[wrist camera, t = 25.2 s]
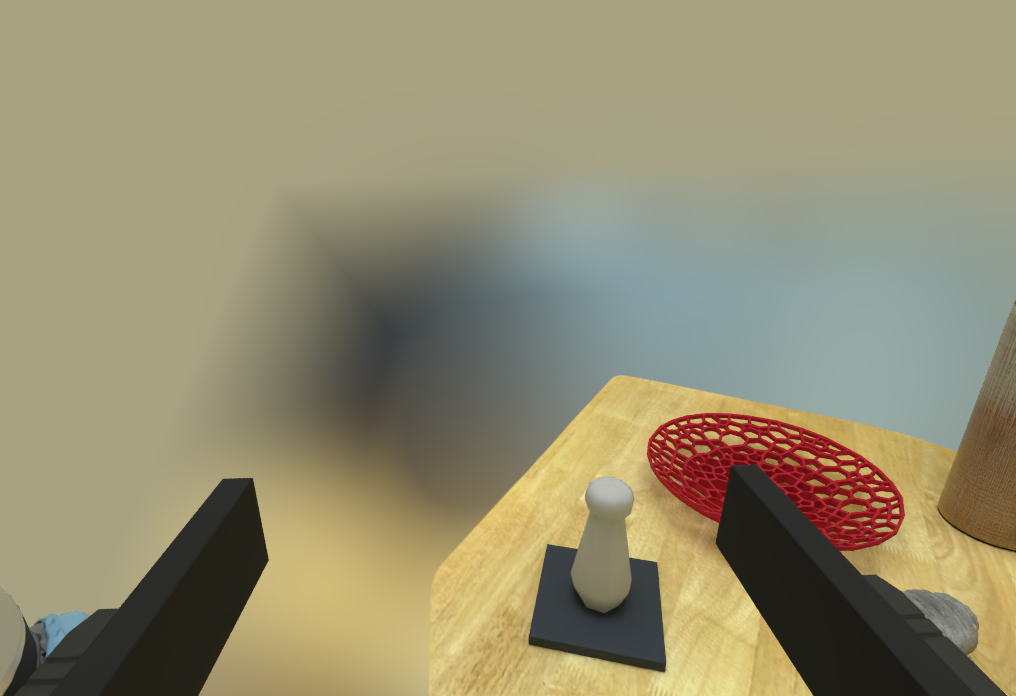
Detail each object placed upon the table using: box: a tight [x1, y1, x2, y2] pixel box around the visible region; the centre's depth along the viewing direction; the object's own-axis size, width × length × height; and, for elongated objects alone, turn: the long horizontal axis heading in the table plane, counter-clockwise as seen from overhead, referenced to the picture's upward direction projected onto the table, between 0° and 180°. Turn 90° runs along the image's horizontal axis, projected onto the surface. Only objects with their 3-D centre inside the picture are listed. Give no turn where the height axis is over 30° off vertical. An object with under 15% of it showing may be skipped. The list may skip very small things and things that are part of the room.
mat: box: [529, 544, 666, 672], centre depth 49 cm, size 12×12×1 cm
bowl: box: [647, 413, 905, 551], centre depth 65 cm, size 29×30×5 cm
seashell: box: [903, 589, 979, 655], centre depth 43 cm, size 6×14×8 cm, turn 100°
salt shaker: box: [571, 477, 634, 613], centre depth 47 cm, size 6×6×13 cm
